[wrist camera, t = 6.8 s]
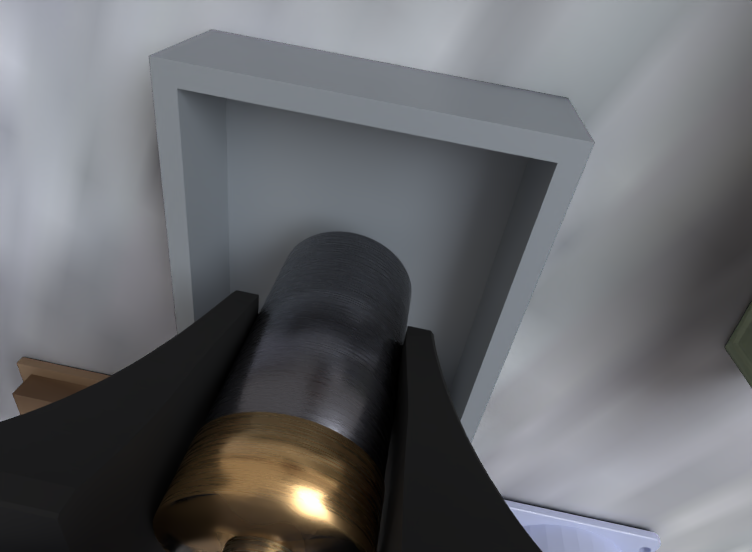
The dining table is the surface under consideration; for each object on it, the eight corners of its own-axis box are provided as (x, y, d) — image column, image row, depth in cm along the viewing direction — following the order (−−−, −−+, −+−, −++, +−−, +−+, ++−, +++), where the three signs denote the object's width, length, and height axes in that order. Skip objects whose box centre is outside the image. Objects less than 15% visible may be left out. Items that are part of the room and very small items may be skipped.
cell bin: (461, 394, 21) (460, 468, 18) (222, 343, 21) (184, 409, 18) (568, 98, 14) (594, 142, 11) (211, 29, 14) (148, 55, 11)
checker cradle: (219, 506, 28) (207, 534, 27) (63, 472, 29) (43, 498, 27) (213, 397, 23) (198, 426, 22) (22, 356, 23) (-4, 382, 22)
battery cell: (395, 349, 17) (343, 668, 10) (275, 318, 17) (138, 617, 10) (428, 251, 14) (390, 585, 8) (288, 214, 14) (118, 516, 7)
